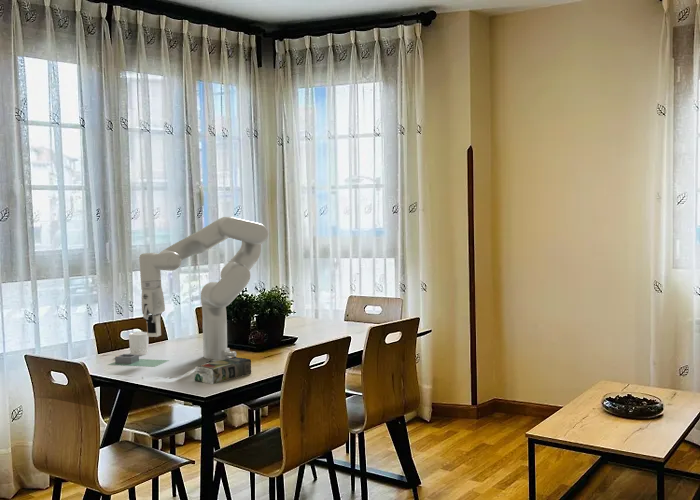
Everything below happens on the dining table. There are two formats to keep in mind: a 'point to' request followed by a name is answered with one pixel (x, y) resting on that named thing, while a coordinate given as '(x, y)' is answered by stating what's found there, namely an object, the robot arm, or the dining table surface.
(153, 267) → the robot arm
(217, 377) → the juice carton
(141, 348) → the white cup
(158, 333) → the cream rectangular block
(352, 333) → the dining table surface
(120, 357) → the board
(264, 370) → the dining table surface
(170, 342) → the dining table surface
